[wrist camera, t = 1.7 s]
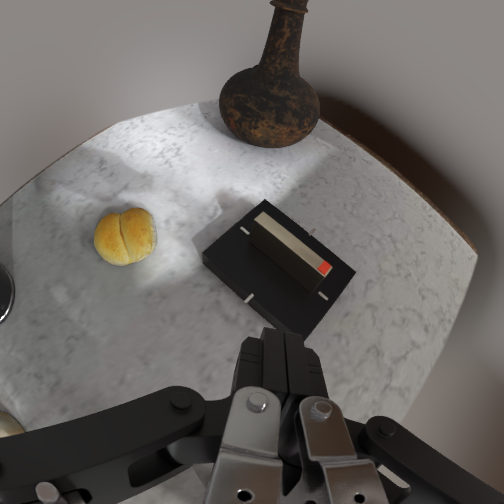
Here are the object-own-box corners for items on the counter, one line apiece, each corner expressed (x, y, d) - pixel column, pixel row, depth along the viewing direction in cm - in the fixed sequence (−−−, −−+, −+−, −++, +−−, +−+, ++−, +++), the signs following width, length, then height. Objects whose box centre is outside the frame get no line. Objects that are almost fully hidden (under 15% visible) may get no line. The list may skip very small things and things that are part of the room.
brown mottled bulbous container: (297, 108, 58) (330, -5, 33) (320, 165, 50) (377, 24, 25) (215, 105, 55) (227, -20, 30) (219, 163, 47) (235, -3, 22)
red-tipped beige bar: (248, 241, 37) (254, 217, 32) (257, 234, 37) (263, 209, 33) (310, 293, 35) (325, 276, 30) (318, 284, 35) (333, 266, 31)
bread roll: (97, 223, 39) (88, 207, 35) (154, 211, 41) (149, 194, 37) (98, 274, 35) (88, 261, 32) (161, 261, 37) (156, 246, 34)
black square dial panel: (196, 268, 37) (195, 257, 35) (266, 207, 44) (270, 194, 41) (291, 352, 34) (298, 348, 31) (351, 275, 40) (360, 266, 37)
